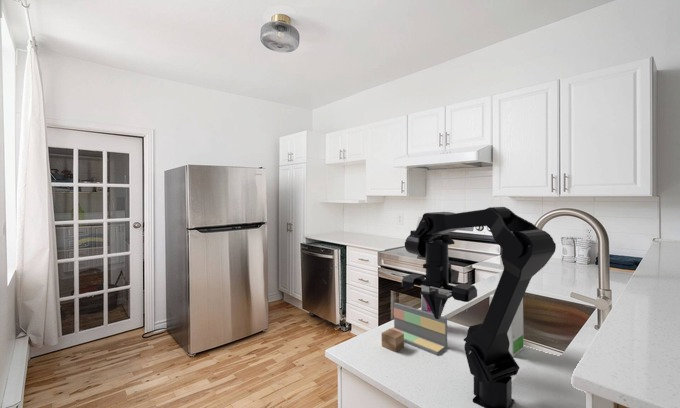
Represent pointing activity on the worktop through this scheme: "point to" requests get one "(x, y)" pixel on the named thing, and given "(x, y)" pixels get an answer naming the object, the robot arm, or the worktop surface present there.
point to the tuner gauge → (421, 328)
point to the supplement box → (425, 305)
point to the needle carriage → (392, 340)
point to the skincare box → (515, 331)
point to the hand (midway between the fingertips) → (437, 318)
